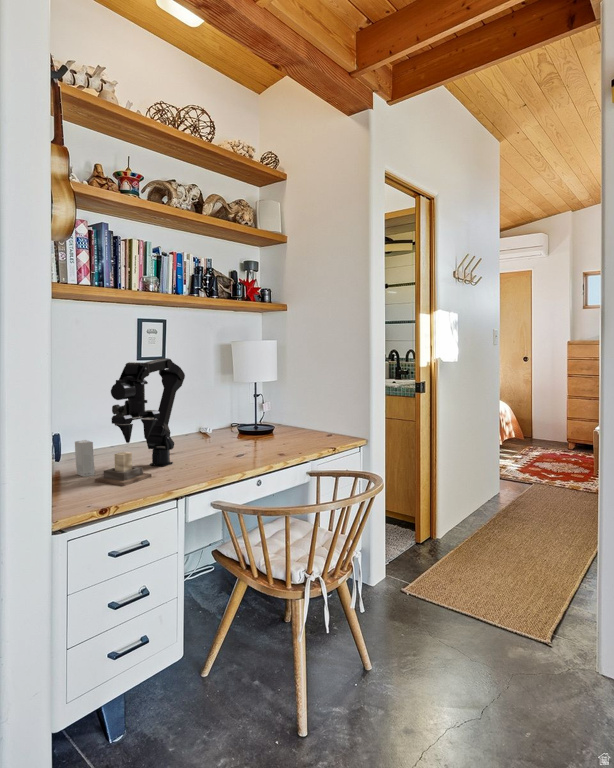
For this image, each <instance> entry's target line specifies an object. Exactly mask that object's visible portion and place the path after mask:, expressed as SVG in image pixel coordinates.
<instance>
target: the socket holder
mask: <svg viewBox="0 0 614 768" xmlns="http://www.w3.org/2000/svg"><path fill="white" fill-rule="evenodd" d="M152 476H153V475H152V473H148V472H144V468H143V467H142V466H141V467H140V466H133V465H132V470H129V471H125V472H120V471H115V467H113V468H108V469H105V470H103V475H102V476H100V477H96V478H94V483H95V482H96V483H102V484H110V485H116V486H123V487H126V486H128V485H131V484H134V483H137V482H139V481H143V480H147V479H149V478H152Z"/></svg>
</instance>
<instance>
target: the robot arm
mask: <svg viewBox="0 0 614 768" xmlns="http://www.w3.org/2000/svg"><path fill="white" fill-rule="evenodd" d="M155 372H158V375H159V377H161V383H162V386H163V389H162V394H161V398H160V401H159V406H158V409H157V410H156V409H146V404H148V399H145V398H146V396H145V390H146V389H145V385H148V384H149V383H148V381H147V380H146V379H145V378H148V377H149V376H150V374H151V373H155ZM185 378H186V374H185V372H184V371H183V369H182V368H181V367H180V366H179V365H178V364H176V363H175V362H173V361H172V359H171V358H168V357H167V358H165V357H164V358H158V359H154V360H150V361H146V362H129V361H128V362H127V363H125V365H124V367H123V369H122V371H121V374H120V376H119V378H118V379H116V380H115V383H114V384H113V385H112V386H111V389H110V395H111V397H112V398H113V399H114V400H116V401H121V400H124V404H123V405H120V404H113V405H112V408H111V412H112V415H113V416H112V417H111V424H114V426H115V427H118V428H119V429H120V431H121V432H122V433H121V434H122V435H123V437H124V442H126V444H129V443H130V442H131V439H132V430H133V428H134V427H133V426H134V424H133V423H132V422H133V421H137V420H140V421H141V423H142V425H143V435H144V439H145V440H146V444H147V448H148V450H152V454H151V460H152V462H151V463H149V466H155V467H165V466H168V465H171V464H174V461H171V460H170V459H171V458H170V453H171V451H170V450H173V449H174V448H175V442H174V440H173V439H172V437H171V431H170V427H169V423H170V418H171V415H172V410H173V406H174V402H175V399H176V394H177V392H178V390H179V389H180V388H181V387H182V386H183V384H184V380H185Z"/></svg>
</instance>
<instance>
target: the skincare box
mask: <svg viewBox="0 0 614 768" xmlns="http://www.w3.org/2000/svg"><path fill="white" fill-rule="evenodd" d="M74 453H75V467H76V469H75V470H76V475H78V476H81V477H83V478H86V477H92V476H95V474H96V473H95V460H94V459H95V458H94V457H95V456H94V442H93V441H92V440H91V441H90V440H87V439H83V440H77V441H74Z"/></svg>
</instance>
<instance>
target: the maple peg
mask: <svg viewBox="0 0 614 768" xmlns="http://www.w3.org/2000/svg"><path fill="white" fill-rule="evenodd" d="M132 466H133V453H132V452H129V451H128V452H127V451H122V452H116V453H114V468H115V471H120V472H125V471H129V470H132Z"/></svg>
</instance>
